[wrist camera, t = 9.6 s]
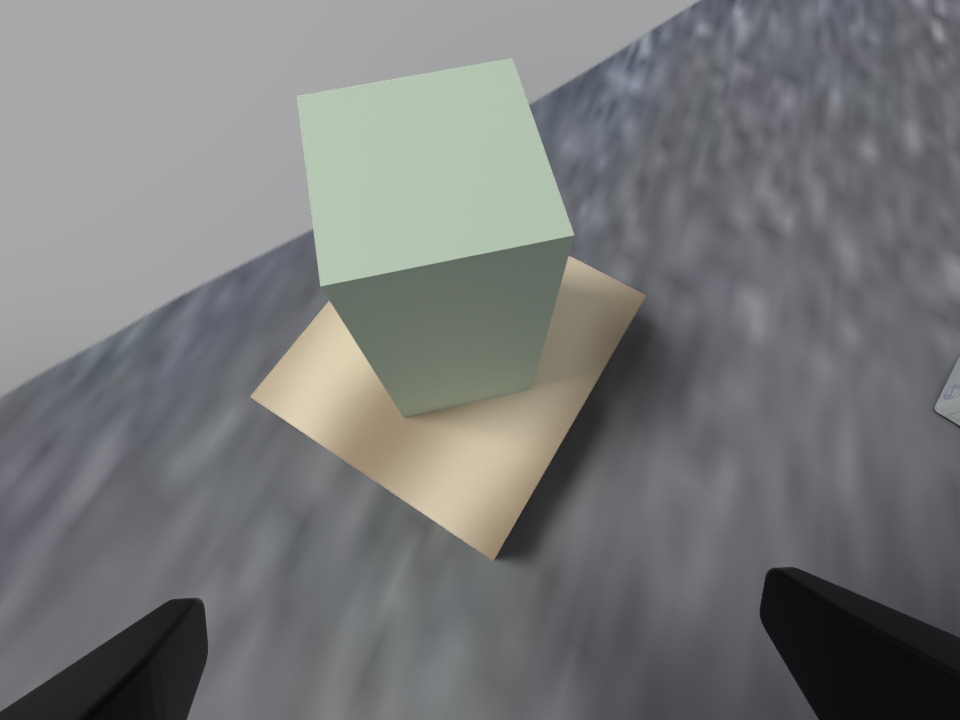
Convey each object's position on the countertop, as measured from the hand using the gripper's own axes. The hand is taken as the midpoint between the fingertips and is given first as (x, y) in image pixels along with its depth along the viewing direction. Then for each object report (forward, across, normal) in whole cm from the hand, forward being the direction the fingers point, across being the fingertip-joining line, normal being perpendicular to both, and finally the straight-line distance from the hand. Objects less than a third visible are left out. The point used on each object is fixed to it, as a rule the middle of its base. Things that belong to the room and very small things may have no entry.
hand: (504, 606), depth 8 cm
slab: (+15, -1, 0) cm, 15 cm away
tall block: (+13, 0, -2) cm, 13 cm away
